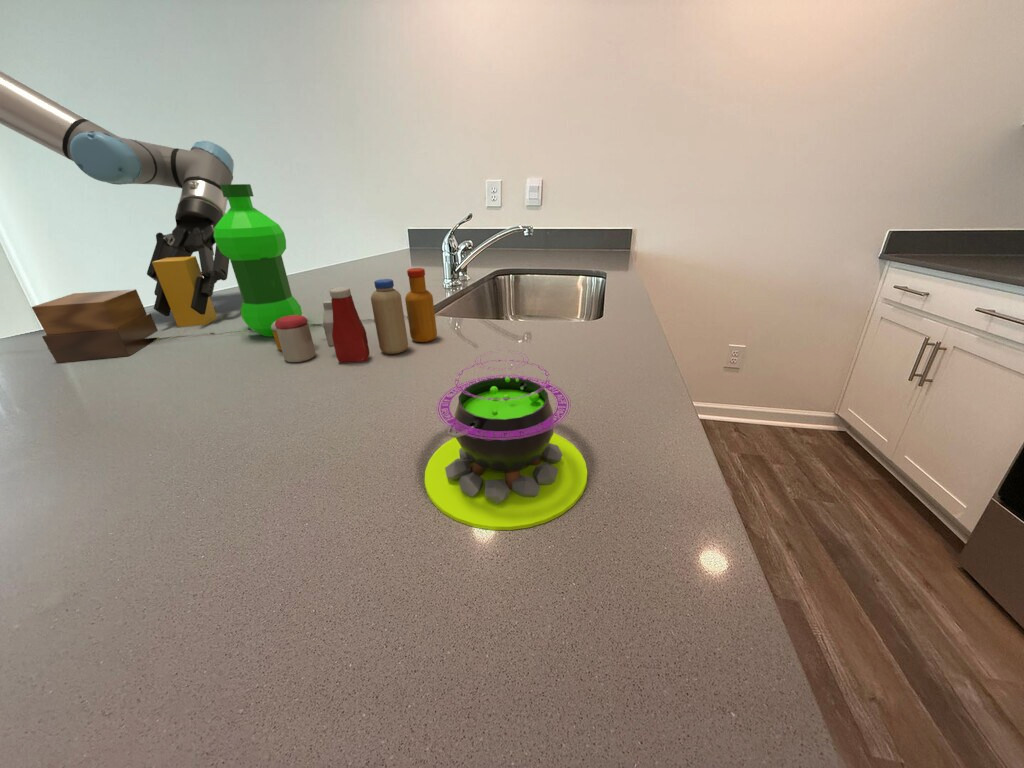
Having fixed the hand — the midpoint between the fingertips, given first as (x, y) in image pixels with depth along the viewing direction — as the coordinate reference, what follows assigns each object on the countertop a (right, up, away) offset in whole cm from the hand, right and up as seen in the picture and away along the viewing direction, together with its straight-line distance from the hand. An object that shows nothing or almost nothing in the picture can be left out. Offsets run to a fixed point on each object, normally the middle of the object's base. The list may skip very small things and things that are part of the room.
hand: (179, 311), depth 75 cm
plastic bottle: (+17, -4, +2) cm, 18 cm away
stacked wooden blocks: (-8, -7, -5) cm, 12 cm away
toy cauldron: (+61, -22, -37) cm, 75 cm away
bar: (0, -2, +5) cm, 6 cm away
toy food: (+35, -8, -8) cm, 37 cm away
